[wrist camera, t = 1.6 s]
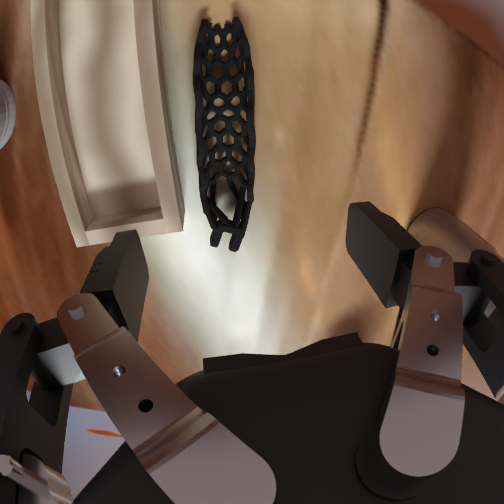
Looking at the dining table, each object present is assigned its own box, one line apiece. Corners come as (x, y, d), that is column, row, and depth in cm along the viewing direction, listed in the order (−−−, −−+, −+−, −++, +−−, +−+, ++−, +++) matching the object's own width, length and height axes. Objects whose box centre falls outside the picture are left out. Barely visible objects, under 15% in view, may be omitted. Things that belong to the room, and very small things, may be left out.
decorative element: (191, 23, 22) (187, 11, 17) (246, 20, 23) (255, 8, 18) (205, 235, 34) (206, 265, 29) (251, 231, 35) (259, 261, 30)
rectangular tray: (157, -41, 17) (150, -58, 14) (184, 210, 32) (182, 231, 28) (51, -9, 16) (31, -17, 13) (89, 226, 31) (76, 247, 27)
